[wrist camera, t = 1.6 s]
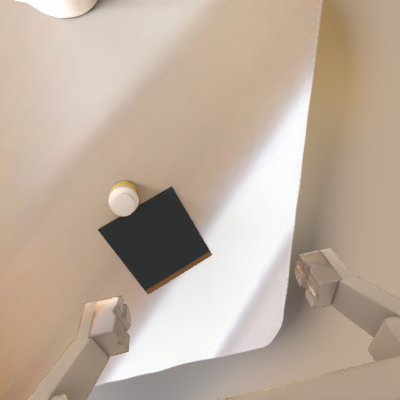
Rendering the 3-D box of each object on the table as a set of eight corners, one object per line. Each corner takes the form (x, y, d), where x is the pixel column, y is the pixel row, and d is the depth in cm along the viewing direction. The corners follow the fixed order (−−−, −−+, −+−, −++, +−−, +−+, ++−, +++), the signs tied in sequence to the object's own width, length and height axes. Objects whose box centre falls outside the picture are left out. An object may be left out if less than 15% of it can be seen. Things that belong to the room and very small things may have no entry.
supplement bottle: (131, 208, 53) (130, 225, 44) (106, 198, 52) (100, 213, 42) (142, 186, 53) (144, 198, 44) (118, 175, 51) (114, 185, 42)
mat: (98, 229, 53) (98, 230, 52) (171, 186, 54) (171, 186, 54) (148, 293, 60) (148, 294, 60) (211, 254, 61) (212, 255, 61)
